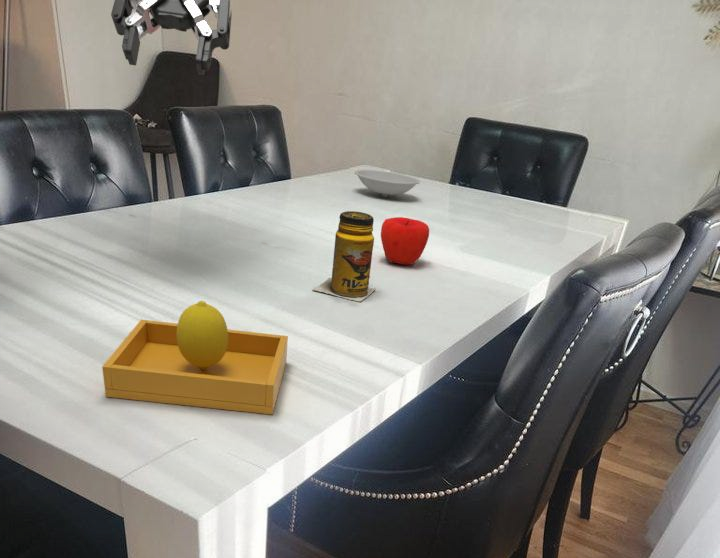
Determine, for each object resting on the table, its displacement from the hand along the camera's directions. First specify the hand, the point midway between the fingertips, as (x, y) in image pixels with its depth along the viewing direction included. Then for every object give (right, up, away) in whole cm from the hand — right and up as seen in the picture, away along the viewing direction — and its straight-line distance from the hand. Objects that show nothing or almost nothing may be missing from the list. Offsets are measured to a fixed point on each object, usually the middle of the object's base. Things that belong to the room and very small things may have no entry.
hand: (165, 64), depth 80 cm
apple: (+32, -11, +42) cm, 54 cm away
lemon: (+6, -39, -7) cm, 40 cm away
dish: (+31, +24, +93) cm, 101 cm away
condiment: (+22, -21, +25) cm, 39 cm away
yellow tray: (+6, -40, -6) cm, 41 cm away
